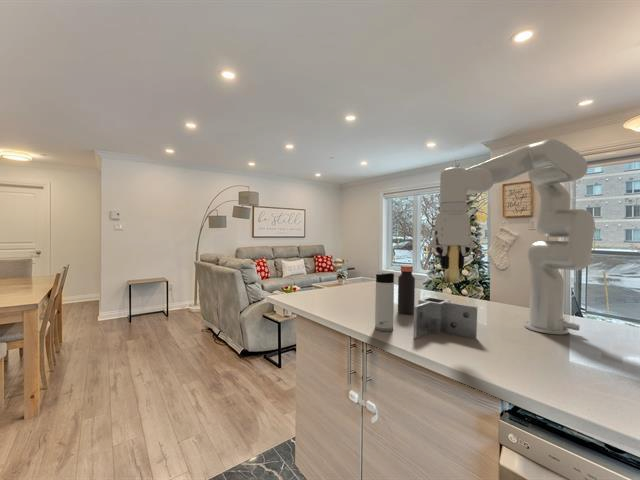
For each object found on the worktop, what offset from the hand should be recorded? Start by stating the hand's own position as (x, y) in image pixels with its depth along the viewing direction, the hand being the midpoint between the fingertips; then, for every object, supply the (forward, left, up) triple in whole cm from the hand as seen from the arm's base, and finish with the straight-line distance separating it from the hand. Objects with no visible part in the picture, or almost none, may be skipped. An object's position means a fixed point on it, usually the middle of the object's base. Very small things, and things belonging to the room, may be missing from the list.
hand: (451, 268), depth 94 cm
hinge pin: (0, 0, -4) cm, 4 cm away
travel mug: (+22, +4, -23) cm, 32 cm away
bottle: (+28, -22, -23) cm, 42 cm away
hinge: (+4, -4, -23) cm, 24 cm away
